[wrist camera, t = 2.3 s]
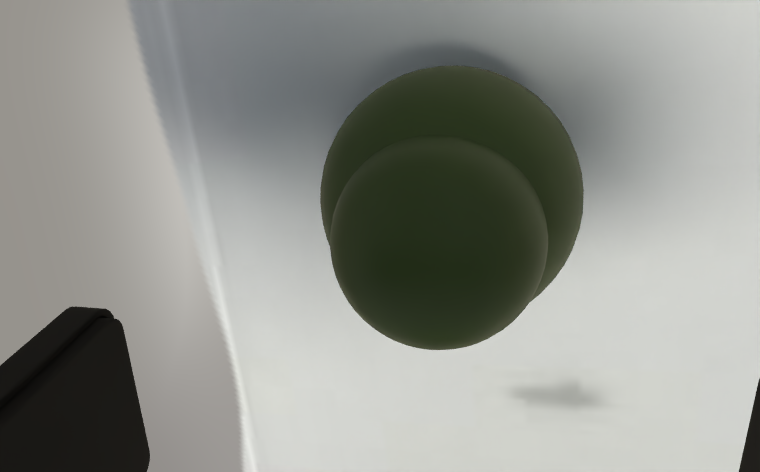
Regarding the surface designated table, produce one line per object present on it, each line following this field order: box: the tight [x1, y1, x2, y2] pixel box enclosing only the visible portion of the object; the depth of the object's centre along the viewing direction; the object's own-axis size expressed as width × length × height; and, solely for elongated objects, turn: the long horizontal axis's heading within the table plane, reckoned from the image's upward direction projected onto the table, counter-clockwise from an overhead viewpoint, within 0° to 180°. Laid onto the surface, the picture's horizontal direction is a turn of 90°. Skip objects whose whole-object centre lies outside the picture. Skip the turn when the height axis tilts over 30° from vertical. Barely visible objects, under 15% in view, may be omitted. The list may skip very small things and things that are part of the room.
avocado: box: [320, 66, 583, 350], centre depth 16 cm, size 6×6×8 cm
